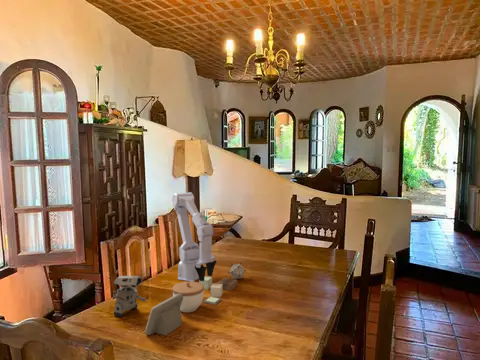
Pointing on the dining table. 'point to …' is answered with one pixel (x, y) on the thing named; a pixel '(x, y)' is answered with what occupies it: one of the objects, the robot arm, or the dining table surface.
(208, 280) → the sage cube
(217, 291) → the cream cube
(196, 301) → the lidded bowl
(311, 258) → the dining table surface
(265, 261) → the dining table surface
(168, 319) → the digital clock
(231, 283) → the walnut base
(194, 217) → the robot arm
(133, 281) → the figurine
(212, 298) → the tile
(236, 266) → the game die
